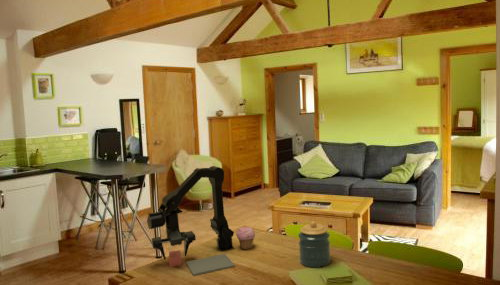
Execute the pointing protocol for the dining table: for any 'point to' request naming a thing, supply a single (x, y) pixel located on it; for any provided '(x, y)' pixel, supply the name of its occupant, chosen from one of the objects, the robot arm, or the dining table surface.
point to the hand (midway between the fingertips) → (175, 257)
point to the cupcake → (245, 237)
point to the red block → (175, 258)
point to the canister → (314, 245)
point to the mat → (209, 264)
